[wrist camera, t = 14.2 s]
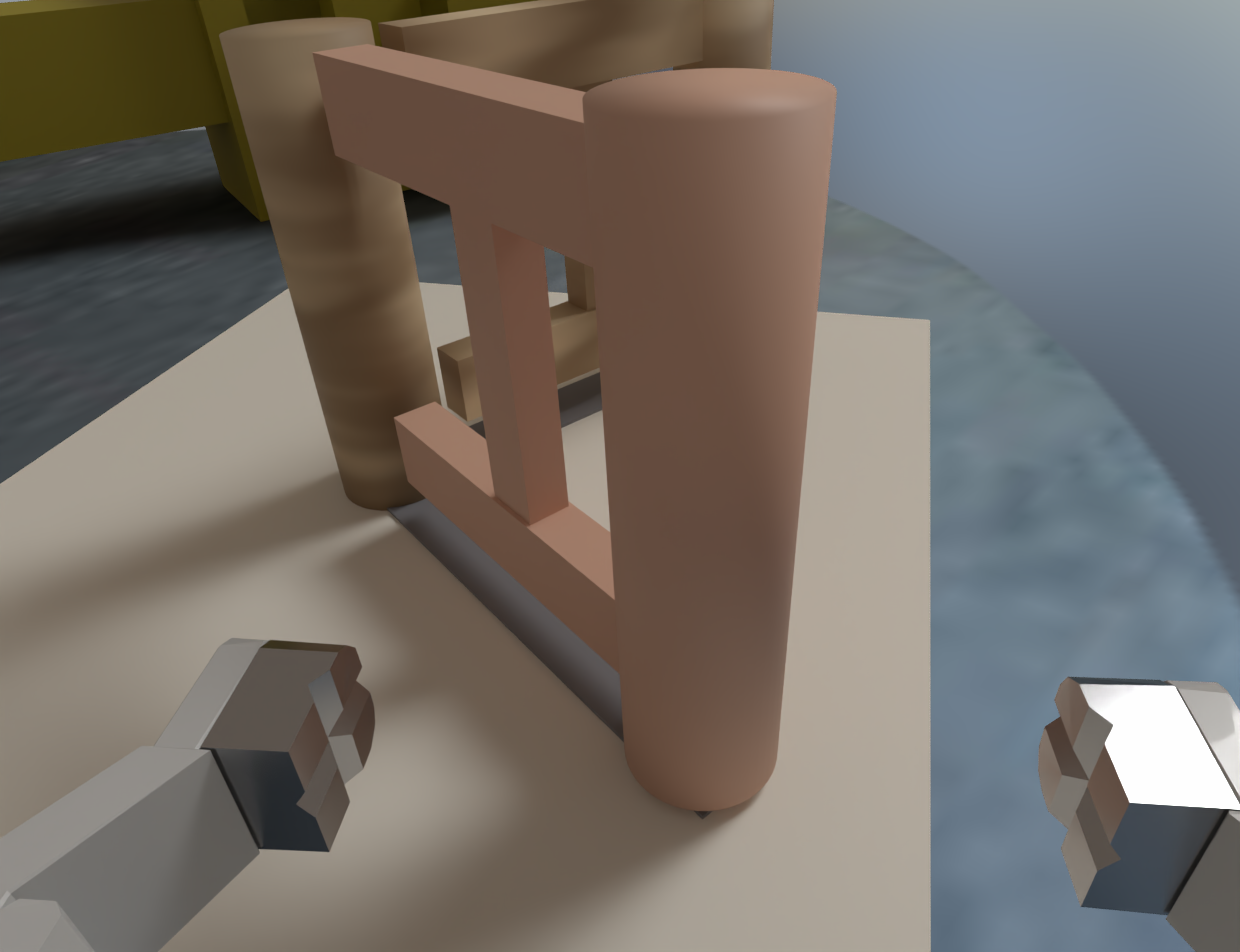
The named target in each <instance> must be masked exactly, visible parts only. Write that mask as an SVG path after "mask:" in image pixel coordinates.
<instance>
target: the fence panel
mask: <svg viewBox="0 0 1240 952" xmlns="http://www.w3.org/2000/svg"><path fill="white" fill-rule="evenodd" d="M312 54H313V58H314V63H315V67H316V72H317V76H318V81H319V85H320V90H321V94H322V99H323V103H324V108H325V112H326V117H327V121H328V126H329V130H330V135H331V139H332V144H333V148H334V153H335V156H338V157H340V158H342V159H345V160H347V161H349V162H352V163H354V164H356V165H358V166H361V167H363V168H365V169H368V170H370V171H372V172H374V173H377V174H379V175H381V176H384V177H386V178H388V179H390V180H393V181H395V182H397V183H400V184H402V185H404V186H407V187H409V188H411V189H413V190H416V191H418V192H420V193H423V194H425V195H427V196H429V197H432V198H434V199H436V200H439V201H441V202H443V203H445V204H448V205H450V211H451V217H452V224H453V230H454V237H455V243H456V249H457V256H458V262H459V269H460V275H461V282H462V288H463V294H464V301H465V307H466V314H467V320H468V327H469V333H470V339H471V346H472V352H473V359H474V365H475V371H476V378H477V384H478V391H479V397H480V404H481V410H482V416H483V423H484V429H485V436H486V439H485V438H483V437H482V436H481V435H479V434H478V433H477V432H475V431H474V430H473V429H471V428H470V427H469V426H467V425H466V424H465V423H463V422H462V421H461V420H459V419H458V418H457V417H455V416H454V415H453V414H451V413H450V412H449V411H447V410H446V409H445V408H443V407H442V406H441V405H439V404H438V403H437V402H432V403H430V404H427V405H425V406H422V407H419V408H417V409H414V410H412V411H409V412H407V413H404V414H401V415H399V416H396V417H394V422H395V426H396V431H397V435H398V439H399V444H400V448H401V453H402V457H403V462H404V466H405V471H406V475H407V480H408V482H409V483H410V484H411V485H412V486H413V487H414V488H415V489H417V490H418V491H419V492H420V493H421V494H422V495H423V496H424V497H425V498H426V499H428V500H429V501H430V502H431V503H432V504H433V505H434V506H435V507H436V508H437V509H439V510H440V511H441V512H442V513H443V514H444V515H445V516H446V517H447V518H448V519H450V520H451V521H452V522H453V523H454V524H455V525H456V526H457V527H458V528H459V529H461V530H462V531H463V532H464V533H465V534H466V535H467V536H468V537H469V538H470V539H472V540H473V541H474V542H475V543H476V544H477V545H478V546H479V547H480V548H481V549H483V550H484V551H485V552H486V553H487V554H488V555H489V556H490V557H491V558H492V559H494V560H495V561H496V562H497V563H498V564H499V565H500V566H501V567H502V568H503V569H505V570H506V571H507V572H508V573H509V574H510V575H511V576H512V577H513V578H514V579H516V580H517V581H518V582H519V583H520V584H521V585H522V586H523V587H524V588H525V589H527V590H528V591H529V592H530V593H531V594H532V595H533V596H534V597H535V598H536V599H538V600H539V601H540V602H541V603H542V604H543V605H544V606H545V607H546V608H547V609H548V610H550V611H551V612H552V613H553V614H554V615H555V616H556V617H557V618H558V619H559V620H561V621H562V622H563V623H564V624H565V625H566V626H567V627H568V628H569V629H570V630H572V631H573V632H574V633H575V634H576V635H577V636H578V637H579V638H580V639H581V640H583V641H584V642H585V643H586V644H587V645H588V646H589V647H590V648H591V649H592V650H594V651H595V652H596V653H597V654H598V655H599V656H600V657H601V658H602V659H603V660H605V661H606V662H607V663H608V664H609V665H610V666H611V667H612V668H613V669H614V670H616V671H617V672H618V673H619V674H620V689H621V704H622V719H623V735H624V749H625V757H626V760H627V764H628V766H629V768H630V771H631V773H632V774H633V776H634V777H635V779H636V780H637V781H638V783H639V784H640V785H641V786H642V787H643V788H644V789H645V790H646V791H647V792H649V793H650V794H651V795H653V796H654V797H656V798H657V799H659V800H661V801H663V802H665V803H667V804H669V805H672V806H675V807H678V808H682V809H686V810H693V811H715V810H721V809H726V808H730V807H733V806H735V805H738V804H740V803H742V802H744V801H746V800H748V799H749V798H751V797H752V796H754V795H755V794H756V793H757V792H759V791H760V790H761V789H762V788H763V787H764V785H765V784H766V783H767V782H768V780H769V778H770V777H771V775H772V773H773V771H774V768H775V765H776V760H777V753H778V742H779V731H780V720H781V709H782V698H783V687H784V675H785V664H786V653H787V642H788V631H789V620H790V609H791V597H792V586H793V575H794V564H795V553H796V542H797V531H798V519H799V508H800V497H801V486H802V475H803V464H804V453H805V441H806V430H807V419H808V408H809V397H810V386H811V374H812V363H813V352H814V341H815V330H816V319H817V308H818V296H819V285H820V274H821V263H822V252H823V241H824V230H825V218H826V207H827V196H828V185H829V174H830V162H831V152H832V140H833V129H834V118H835V107H836V95H837V91H836V88H835V87H834V85H832V84H831V83H829V82H827V81H824V80H823V79H820V78H817V77H813V76H809V75H804V74H799V73H794V72H787V71H777V70H768V69H750V68H704V69H686V70H674V71H664V72H656V73H649V74H642V75H636V76H631V77H626V78H621V79H617V80H614V81H610V82H607V83H604V84H601V85H598V86H596V87H594V88H592V89H590V90H589V91H587V92H583V91H578V90H574V89H569V88H565V87H560V86H556V85H551V84H546V83H542V82H537V81H533V80H528V79H524V78H519V77H515V76H510V75H506V74H501V73H497V72H492V71H488V70H483V69H479V68H474V67H469V66H465V65H460V64H456V63H451V62H447V61H442V60H438V59H433V58H429V57H424V56H420V55H415V54H411V53H406V52H402V51H397V50H392V49H388V48H383V47H379V46H374V45H370V44H364V45H357V46H351V47H344V48H338V49H331V50H325V51H318V52H312ZM544 247H546V248H549V249H551V250H553V251H555V252H558V253H560V254H562V255H565V256H567V257H569V258H572V259H574V260H576V261H578V262H581V263H583V264H585V265H588V266H590V267H592V268H593V273H594V288H595V304H596V319H597V334H598V350H599V365H600V381H601V396H602V411H603V427H604V442H605V458H606V473H607V488H608V504H609V519H610V532H609V531H608V530H606V529H605V528H604V527H602V526H601V525H600V524H598V523H597V522H596V521H594V520H593V519H592V518H590V517H589V516H588V515H586V514H585V513H584V512H582V511H581V510H580V509H578V508H577V507H576V506H574V505H573V504H572V503H570V502H569V501H568V492H567V482H566V472H565V461H564V451H563V441H562V431H561V420H560V410H559V400H558V389H557V379H556V369H555V358H554V348H553V338H552V328H551V317H550V307H549V297H548V286H547V276H546V266H545V256H544Z"/></svg>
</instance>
